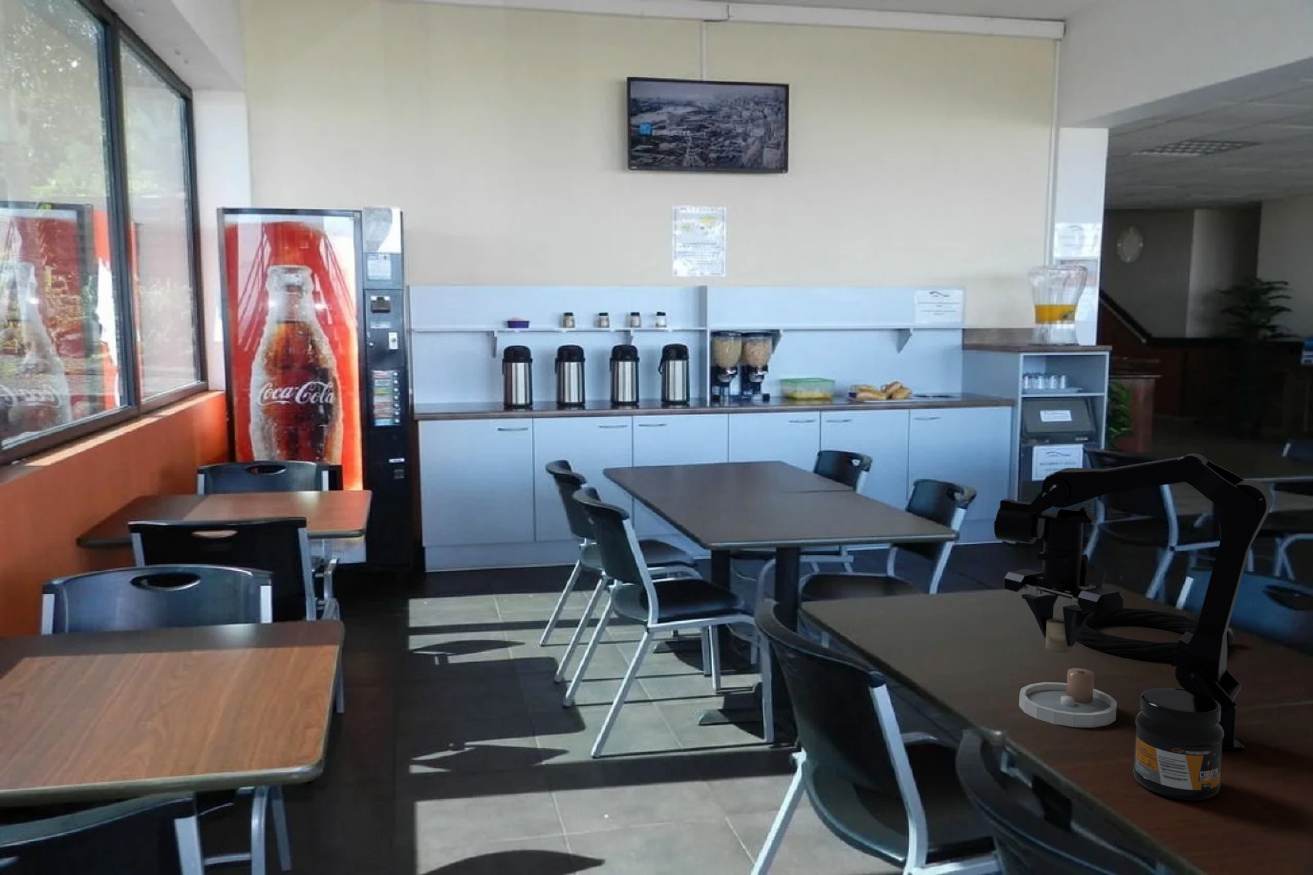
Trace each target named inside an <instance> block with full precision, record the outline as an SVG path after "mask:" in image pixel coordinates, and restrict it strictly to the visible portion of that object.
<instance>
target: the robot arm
mask: <svg viewBox="0 0 1313 875" xmlns="http://www.w3.org/2000/svg"><path fill="white" fill-rule="evenodd" d="M1180 483H1186V484H1188V485H1189V486H1190V487H1192V488H1194V489H1195V490H1196V491H1198V492H1199V493H1200V494H1202V496H1204V497H1205V498H1206V499H1207V500H1209V501H1210V502H1213V503H1214V504H1215V505H1217V506H1219V521H1218V525H1219V528H1218V529H1219V544H1218V547H1217V548H1218V549H1217V551H1216V555H1215V559H1214V562H1213V567H1212V570H1211V574H1210V578H1209V582H1208V584H1207V589H1206V593H1205V595H1204V599H1203V603H1202V607H1201V611H1200V615H1199V618H1198V625H1197V629H1196V631H1195V633H1194V634H1192V633H1190V632H1186V633H1185V634H1182V636H1181V637H1180V638H1179V640H1178V641H1177V642H1178V647H1177V657H1176V659H1175V661H1172V662H1171V667H1175V670H1174V676H1175V679H1176V681H1177V682H1178V684H1179V686H1180V687H1181V688H1183V690H1188V691H1193V692H1197V693H1200V694H1203V695H1206V696H1208V697H1210V698H1212V699H1214V700H1215V701H1217V702H1218V703H1219V704H1220V706H1221V716H1220V722H1219V724H1220V726H1221V727H1222V729H1223V731H1224V738H1223V740H1222V750H1223V751H1226V750H1228V751H1230V750H1232V751H1245V745H1244V744H1242V743H1241V742H1240V741H1238V740H1237V739H1236V738H1235V730H1236V716H1237V704H1236V702H1235V701H1234V700H1235V699H1236V698H1237V697H1238V694H1239V693H1240V691H1241V689H1242V687H1243V685H1242V684H1241V683H1240V681H1238V679H1236V677H1235V676H1234V675H1233V674H1232V673H1231V672H1230V670H1228V668H1227V662H1228V661H1227V660H1228V648H1227V629H1228V628H1229V625H1230V622H1231V618H1232V614H1233V612H1234V607H1235V604H1236V601H1237V596H1238V593H1239V588H1240V585H1241V582H1242V578H1243V575H1244V571H1245V567H1246V564H1247V561H1248V557H1249V552H1250V551H1251V546H1252V544H1253V542H1254V540H1256V539H1255V538H1256V537H1257V535H1258V533H1259V532H1260V530H1261V528H1262V526H1263V524H1264V523H1265V520H1266V518H1267V516H1268V515H1269V513H1270V511H1271V508H1272V507H1273V502H1274V497H1273V493H1272V491H1271V490H1270V488H1268V486H1267V485H1266V484H1264V483H1263V482H1261V481H1259V480H1256V479H1245V478H1242V477H1241V476H1239V475H1238V474H1237V473H1234V472H1232V471H1230V470H1228V469H1226V468H1224V467H1222V466H1220V465H1218V464H1217V463H1214V462H1213V461H1210V460H1209V459H1207V458H1206V457H1205V456H1204V455H1202V454H1199V453H1192V452H1191V453H1188V454H1185V455H1182V456H1178V457H1172V458H1165V459H1159V460H1153V461H1148V462H1142V463H1141V462H1140V463H1135V464H1128V465H1123V466H1118V467H1117V466H1116V467H1111V468H1109V467H1108V468H1095V467H1094V468H1093V467H1066V468H1063V469H1060V470H1057V471H1054V472H1051V473H1048V474H1047V476H1045V479H1044V480H1043V481H1042V484H1041V491H1040V493H1039V494H1038V495H1037V496H1036V498H1034V499H1033V500H1032V502H1030V501H1029V502H1028V501H1018V500H1014V499H1011V498H1010V499H1008V498H1004V499H1002V500H1000V501H999V508H998V510H997V513H996V517H995V520H994V521H993V523H994V524H993V529H994V530H993V531H994V535H995V538H996V539H997V540H1001V541H1007V542H1013V543H1014V542H1016V543H1022V544H1023V543H1024V544H1031V545H1033V544H1035V543H1036V541H1037V539H1042V538H1043V551H1040V552H1038V553H1037V559H1038V560H1042V562H1043V563H1042V572H1041V571H1038V570H1037V571H1036V570H1033V569H1028V568H1023V569H1018V570H1012V571H1008V572H1007V573H1006V575H1005V576H1004V578H1003V589H1004V590H1008V591H1011V592H1015V593H1019V592H1020V591H1021V590H1023V588H1024V594H1021V599H1023V600H1024V601H1025V602H1026V604H1027V605H1028V607H1029V609H1030V610H1031V612H1032V614H1033V616H1034V617H1035V620H1036V622H1037V624H1038V627H1039V628H1040V631H1041V634H1042V635H1043V637H1044V639H1045V640H1046V622H1047V619H1050V618H1054V608H1055V607H1054V606H1055V604H1056V602H1057V599H1058V597H1059V596H1060V597H1063V598H1067V599H1070V600H1071V604H1070V605H1066V606H1062V613H1063V614H1062V615H1063V619H1064V625H1065V635H1066V641H1067V645H1068V646H1069V647H1070V646H1072V647H1073V646H1075V644H1076V642H1077V640H1076V639H1077V637H1078V635H1079V633H1080V630H1081V628H1082V626H1083V624H1084V622H1085V620H1086V619H1087V617H1088V616H1089V614H1090V613H1091V612H1092V613H1096V614H1104V613H1108V612H1113V611H1118V610H1122V609H1123V608H1124V597H1123V596H1124V595H1122V594H1121V592H1120V591H1119V590H1115V589H1111V588H1105V587H1103V586H1104V582H1105V578H1106V574H1107V572H1108V570H1107V569H1105V568H1101V567H1100V566H1096V565H1093V564H1090V563H1089V556H1088V554H1087V553H1083V539H1084V537H1083V535H1084V524H1092V523H1094V522H1096V521H1097V520H1098V516H1097V515H1096V514H1094V512H1092V511H1091V510H1090V508H1089V506H1088V505H1084V506H1082V507H1080V509H1079V510H1077V509H1069V508H1068V507H1071V506H1074V505H1077V504H1081V503H1082V502H1083V503H1084V502H1086V501H1090V500H1091V499H1096V498H1098V497H1101V496H1103V495H1107V494H1112V493H1119V492H1120V493H1122V492H1126V491H1133V490H1140V489H1147V488H1153V487H1160V486H1161V487H1162V486H1166V485H1167V486H1168V485H1173V484H1180ZM1053 508H1056V509H1057V508H1059V510H1058V512H1057V513H1054V512H1046V511H1048V510H1051V509H1053ZM1043 535H1044V536H1043ZM1091 586H1093V587H1092V588H1088V589H1083V588H1086V587H1091ZM1082 587H1083V588H1082Z"/></svg>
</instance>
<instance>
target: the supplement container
mask: <svg viewBox="0 0 1313 875" xmlns="http://www.w3.org/2000/svg"><path fill="white" fill-rule="evenodd" d="M1139 707H1140V710H1141V711H1139V712H1138V713H1137V715H1136V716H1135V720H1134V721H1135V722H1134V723H1135V744H1134V762H1133V770H1132V771H1133V775H1134V778H1135V779H1136V781H1137V782H1138V783H1139V784H1140V785H1142V786H1143V787H1144V788H1145V789H1147V790H1148V791H1150V792H1153V793H1155V794H1157V795H1160V796H1163V797H1166V798H1171V799H1176V800H1182V801H1201V800H1202V801H1203V800H1207V799H1210V798H1212V797H1214V796H1215V795H1217V794H1218V793H1219V791H1220V789H1221V770H1222V769H1221V767H1222V766H1221V765H1222V740H1223V738H1224V731H1223V729H1222V727H1221V726H1220V724H1219V722H1220V716H1221V706H1220V704H1219V703H1218V702H1217V701H1215V700H1214V699H1212V698H1210V697H1208V696H1206V695H1203V694H1200V693H1197V692H1193V691H1188V690H1185V689H1184V688H1183V689H1182V688H1174V687H1155V688H1150V689H1146V690H1144V691H1143V692H1142V693H1141V695H1140V705H1139Z"/></svg>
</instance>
